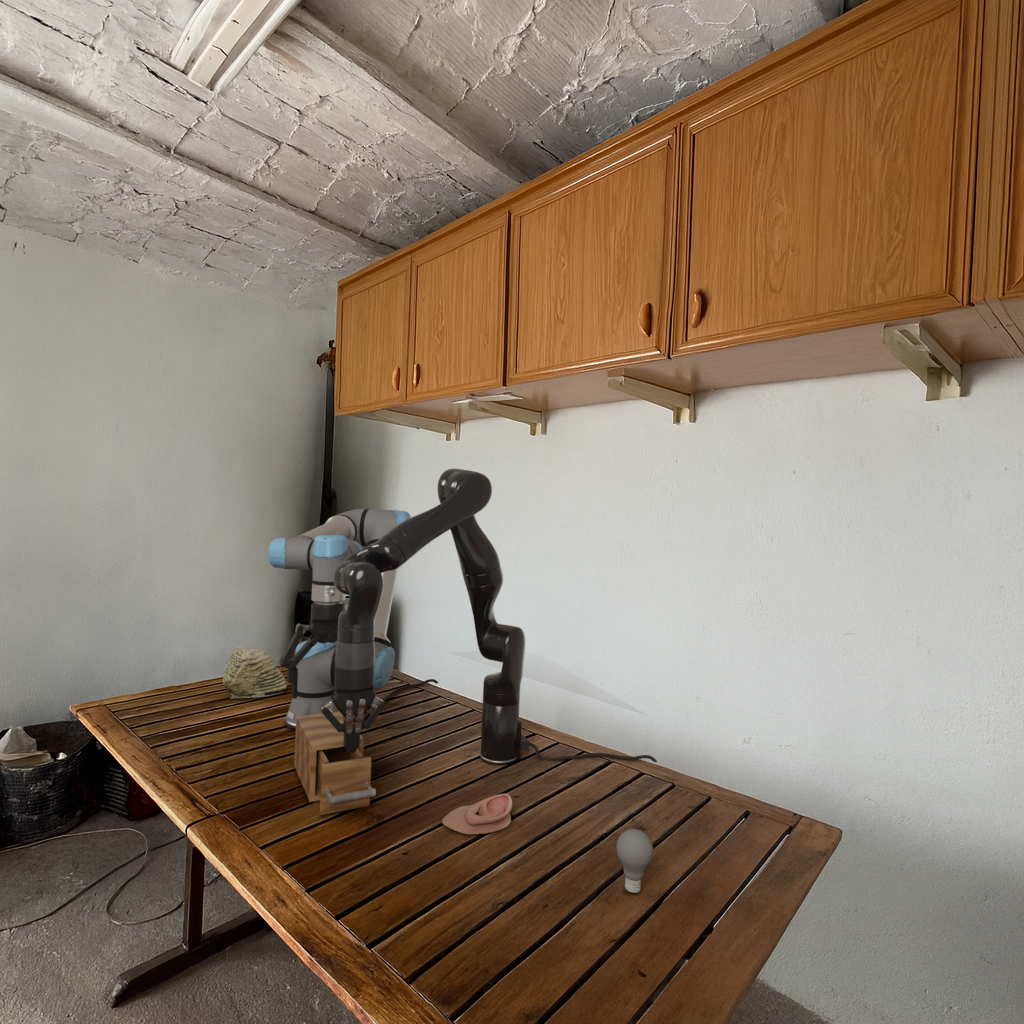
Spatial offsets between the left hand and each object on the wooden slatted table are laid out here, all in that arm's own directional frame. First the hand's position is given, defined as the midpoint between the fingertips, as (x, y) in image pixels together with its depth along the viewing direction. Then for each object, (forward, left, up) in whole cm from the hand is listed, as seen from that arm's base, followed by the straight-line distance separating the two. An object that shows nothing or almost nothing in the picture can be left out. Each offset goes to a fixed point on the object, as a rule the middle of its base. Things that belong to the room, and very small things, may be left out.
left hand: (324, 693), depth 146 cm
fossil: (-17, -61, -18) cm, 66 cm away
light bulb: (-8, +76, -18) cm, 78 cm away
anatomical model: (-7, +42, -18) cm, 46 cm away
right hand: (+10, +24, -4) cm, 26 cm away
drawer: (+6, +15, -17) cm, 24 cm away
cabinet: (+2, +5, -18) cm, 19 cm away
